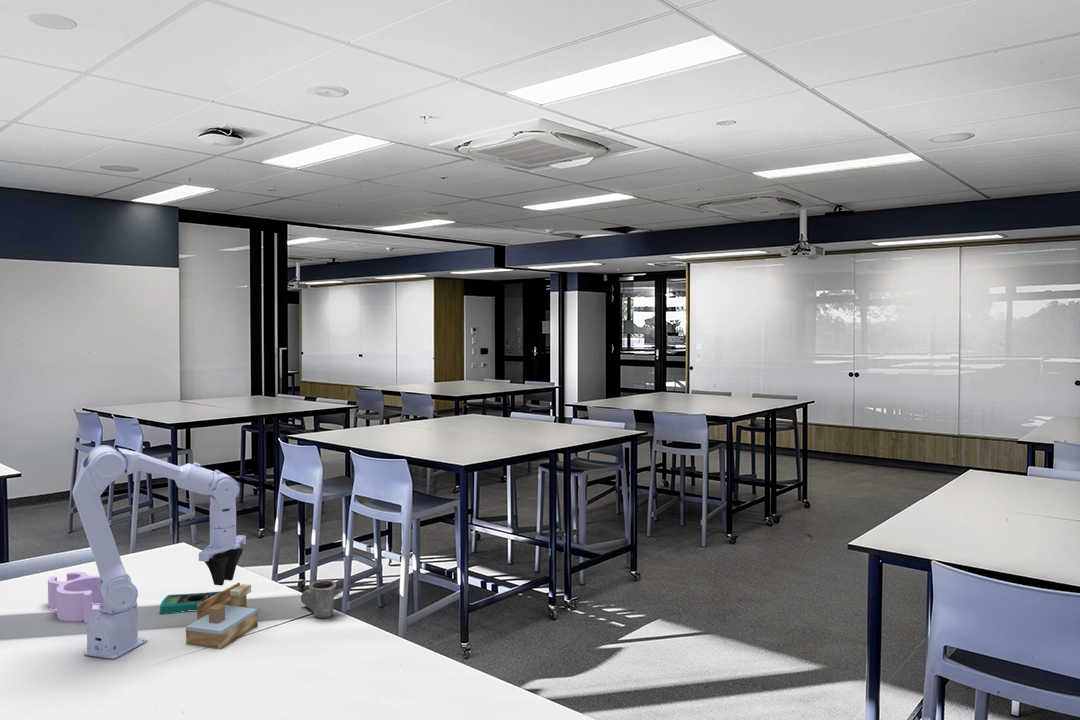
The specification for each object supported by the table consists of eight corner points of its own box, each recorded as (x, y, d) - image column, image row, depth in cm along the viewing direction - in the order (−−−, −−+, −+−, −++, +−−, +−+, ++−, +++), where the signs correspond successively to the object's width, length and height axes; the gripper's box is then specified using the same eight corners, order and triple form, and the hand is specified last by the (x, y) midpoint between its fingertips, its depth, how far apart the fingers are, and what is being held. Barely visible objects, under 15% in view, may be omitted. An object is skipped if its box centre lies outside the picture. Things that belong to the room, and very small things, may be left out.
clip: (33, 609, 182) (33, 581, 182) (86, 594, 192) (85, 567, 192) (76, 627, 171) (75, 598, 171) (129, 610, 182) (129, 582, 182)
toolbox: (221, 648, 161) (221, 620, 161) (177, 643, 163) (176, 615, 163) (278, 612, 182) (278, 586, 181) (238, 607, 184) (238, 582, 184)
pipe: (315, 603, 188) (315, 572, 188) (342, 617, 179) (342, 585, 179) (293, 609, 184) (293, 577, 183) (319, 624, 175) (319, 591, 174)
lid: (221, 639, 161) (221, 616, 160) (186, 634, 163) (185, 612, 163) (257, 616, 173) (257, 595, 173) (224, 612, 175) (224, 591, 175)
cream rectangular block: (238, 599, 178) (238, 591, 178) (229, 598, 178) (229, 590, 178) (251, 591, 183) (251, 584, 183) (242, 590, 183) (242, 583, 183)
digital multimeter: (224, 611, 183) (224, 599, 183) (158, 616, 179) (158, 604, 179) (228, 600, 190) (228, 589, 190) (165, 605, 186) (165, 593, 186)
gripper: (217, 535, 165) (217, 594, 166) (256, 518, 179) (257, 573, 180) (190, 532, 167) (191, 591, 168) (231, 516, 181) (231, 571, 182)
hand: (223, 582), depth 174 cm, fingers open, 3 cm apart
